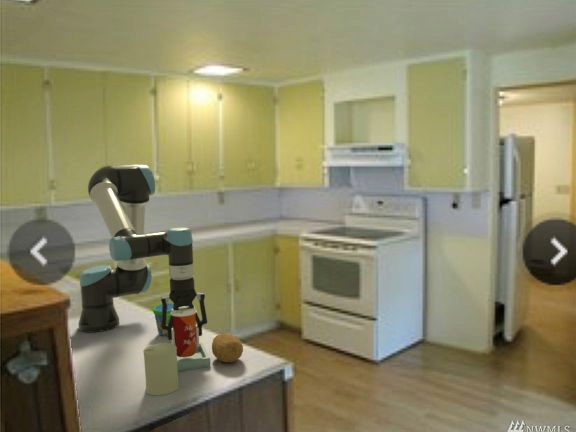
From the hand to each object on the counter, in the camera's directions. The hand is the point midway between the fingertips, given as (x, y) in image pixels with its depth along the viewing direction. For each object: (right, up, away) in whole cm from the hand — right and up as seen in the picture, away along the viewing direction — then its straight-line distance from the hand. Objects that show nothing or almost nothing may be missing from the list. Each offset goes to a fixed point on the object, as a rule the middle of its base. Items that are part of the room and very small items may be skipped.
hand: (185, 347), depth 163 cm
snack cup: (-12, -2, +28) cm, 31 cm away
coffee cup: (0, -2, 0) cm, 2 cm away
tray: (0, -5, 0) cm, 5 cm away
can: (-3, -7, -18) cm, 20 cm away
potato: (+13, -4, +1) cm, 14 cm away
